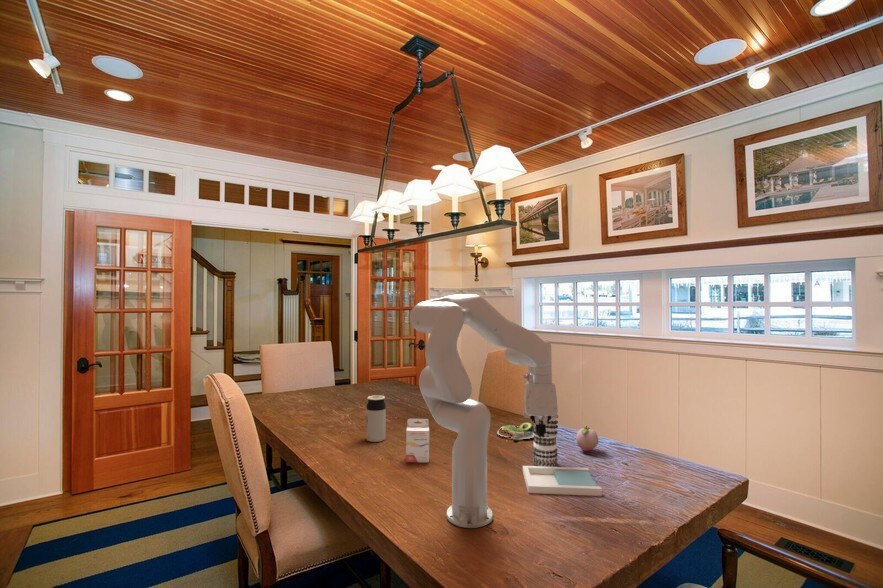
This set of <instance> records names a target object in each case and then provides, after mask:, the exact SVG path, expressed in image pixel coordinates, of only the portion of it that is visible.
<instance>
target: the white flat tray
mask: <svg viewBox="0 0 883 588" xmlns="http://www.w3.org/2000/svg"><path fill="white" fill-rule="evenodd" d="M554 470H559V471H587V472H589V473H590V469H589V467H575V466H574V467H573V466H572V467H571V466H556V467H547V466H535V465H522V474H523V478H524V482H525V485H526V489H527V493H528V494H545V495H548V494H549V495H570V496H571V495H572V496H594V497H595V496H596V497H598V496H600V497H602V496H603V488H602V487H601V486H598V485H597V486H598V487H597V486H570V485H558V483H557V481H556V478H555V476H554Z"/></svg>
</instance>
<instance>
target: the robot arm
mask: <svg viewBox="0 0 883 588" xmlns="http://www.w3.org/2000/svg"><path fill="white" fill-rule="evenodd" d="M409 315H410V316H409V319H410V320H409V322H410V324H411V326H412V327H413V329H415V330H416V331H417V332H418V333H423V334H429V338H428V340H427V342H426V343H427V344H426V346H425V350H424V351H425V352H424V358H425V361H426V364H427V365H426V366H425V367H424V368H423V369H422V370H421V372H420V375H419V378H418V387H419V392H420V394H421V396H422V398H423V400H424V402H425V404H426V406H427V408H428V410H429V412H430V414H431V416H432V417H433V419H434V421H435V422H436V423H437V424H438V425H439V426H440V427H442V428H445V429H447V430H450V431H452V432H455V433H457V437H456V439H455V441H454V443H453V445H452V449H451V451H452V452H451V486H452V487H451V505H450V506H449V507H448V508H447V510H446V519H447V520H448V522H450V523H451V524H453V525H455V526H457V527H461V528H466V529H476V528H481V527H482V528H483V527H484V526H485V527H486V526H487V525H488V524H490V523H491V522H492V521H493V519H494V517H493V516H494V515H493V514H494V513H493V510H492V509H491V508H490V507H489V506H488V440H489V432H490V427H491V421H492V420H491V419H492V416H491V412H490V410H489V408H488V407H487V406H486V405H485V404H484V403H483V402H481V401H479V400H476V399H472V398H470V397H471V395H472V393H473V392H472V391H473V388H472V383H471V379H470V378H469V375H468V373H467V370H466V368H465V366H464V364H463V362H462V360H461V358H460V354H459V352H458V346H457V345H458V340H459V336H460V334H461V332H462V329H463V325H467V326H469V327H470V328H471V329H472V330H474V331H475V332H476V333H477V334H478V335H480V336H481V337H482V338H483V339H485V341H487V342H488V343H490V344H492V345H495V346H497V347H500V348H504V349H505V351H504V356H505V359H506V360H507V361H508V362H509V363H511V364H513V365H517V366H522V367H527V374H524V375H522V376H523V377H522V378H523V380H526V383H525V386H524V394H523V395H524V396H523V399H524V400H523V410H524V412H523V414H522V415H523V418H526V419H530V420H531V421H532V420H533V421H534V422H535V423H536V434H538V436H539V437H544V434H546V424H547V422H548V421H549V420H550V419H553V418H556V419H558V418H559V415H558V397H557V395H558V394H557V390H556V389H557V388H556V385H555V382H553V377H552V376H553V373H552V371H553V369H552V363H553V362H552V361H553V360H552V359H553V358H552V343H551V342H550V341H549V340H545V339H542V338H541V337H540V336H539V335H537V334H536V333H535V332H533V331H532V330H530V329H528V328H526V327H523V326H522V325H519V324H517V323H516V322H513V321H511V320H509V319H508V318H506V317H505V316H504V315H503V314H502V313H501V312H500V311H498V310H497V309H496V308H495V307H494V306H493V305H492V304H491V303H490V302H489V301H487V300H486V299H485V298H484V297H482V296H481V295H478V294H473V293H472V294H470V293H469V294H467V293H466V294H465V293H464V294H451V295H447V296H442V297H440V298H434V299H428V300H425V301H421V302H418V303H417V304H416V305H414V307H412V309H411V311H410V313H409ZM538 416H542V421H541V423H540V421H539V418H538ZM557 417H558V418H557ZM533 421H532V422H533Z"/></svg>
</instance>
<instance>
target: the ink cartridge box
mask: <svg viewBox="0 0 883 588" xmlns="http://www.w3.org/2000/svg"><path fill="white" fill-rule="evenodd" d="M406 420H407V426H406V433H405V436H406V437H405V439H406V440H405V462H406V463H429V459H430V427H429V425H430V423H429V421H430V420H429V419H428V418H408V419H406ZM417 422H418V423H417Z"/></svg>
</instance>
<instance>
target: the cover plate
mask: <svg viewBox="0 0 883 588" xmlns="http://www.w3.org/2000/svg"><path fill="white" fill-rule="evenodd" d="M554 476H555V478H556V481H557V483H558V485H570V486H597V487H599V485H597V483H596V481H595V480H594V479H593V477H592V476H591V474H590V471H589V472H587V471H559V470H554Z"/></svg>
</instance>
